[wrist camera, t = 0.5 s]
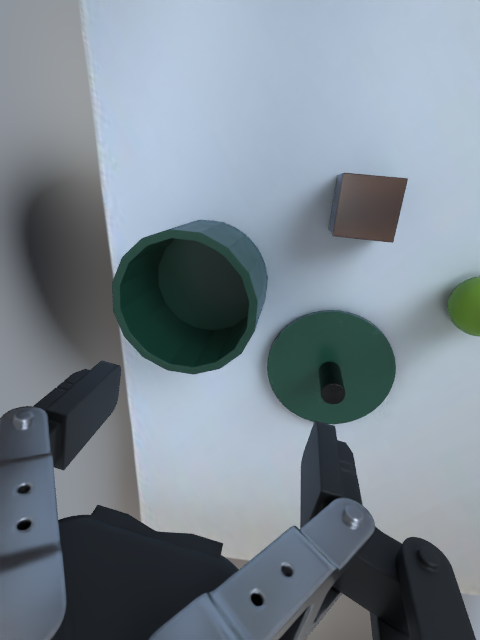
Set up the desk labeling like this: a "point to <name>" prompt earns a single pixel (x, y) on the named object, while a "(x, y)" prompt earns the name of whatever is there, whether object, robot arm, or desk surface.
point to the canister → (190, 295)
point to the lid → (331, 367)
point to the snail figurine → (466, 306)
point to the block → (367, 206)
